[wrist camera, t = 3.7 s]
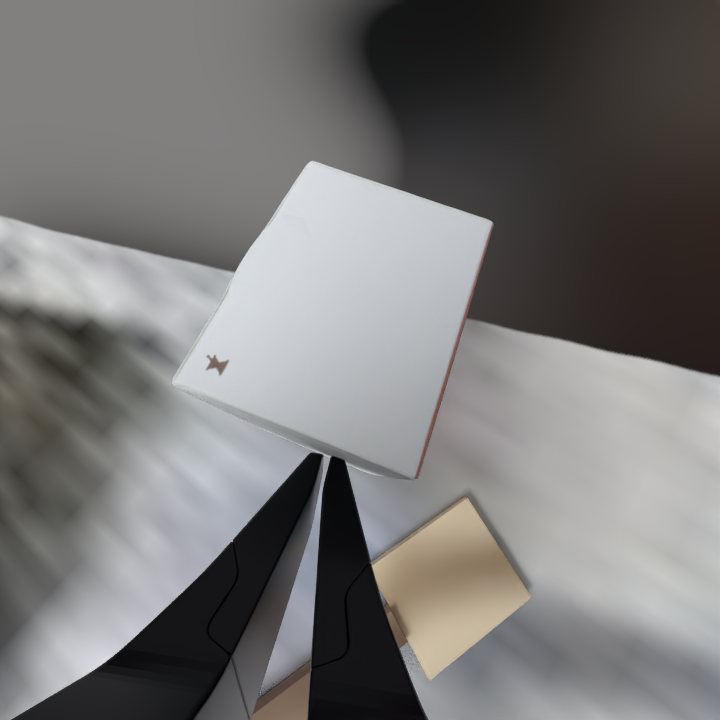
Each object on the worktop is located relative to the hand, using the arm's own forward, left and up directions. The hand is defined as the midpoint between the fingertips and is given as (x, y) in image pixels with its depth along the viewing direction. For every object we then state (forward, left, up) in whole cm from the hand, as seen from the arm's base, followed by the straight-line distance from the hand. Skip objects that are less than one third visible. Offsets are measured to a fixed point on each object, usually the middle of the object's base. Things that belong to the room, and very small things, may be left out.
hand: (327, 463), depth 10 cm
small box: (+3, -2, -10) cm, 11 cm away
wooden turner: (-9, +2, -10) cm, 14 cm away
